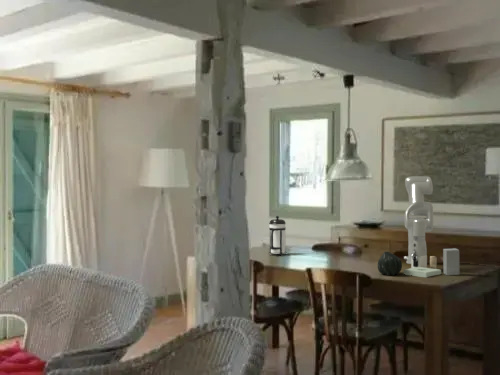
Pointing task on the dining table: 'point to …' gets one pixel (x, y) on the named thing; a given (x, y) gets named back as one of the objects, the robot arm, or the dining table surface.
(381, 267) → the squash
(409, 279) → the dining table surface
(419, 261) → the block
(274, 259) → the dining table surface
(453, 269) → the skincare box
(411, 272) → the peg board
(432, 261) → the peg
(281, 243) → the coffee press
